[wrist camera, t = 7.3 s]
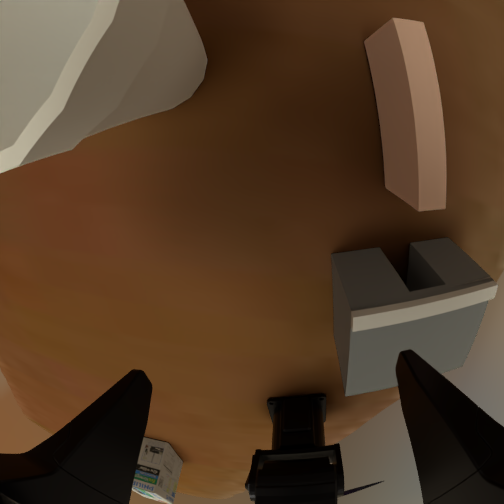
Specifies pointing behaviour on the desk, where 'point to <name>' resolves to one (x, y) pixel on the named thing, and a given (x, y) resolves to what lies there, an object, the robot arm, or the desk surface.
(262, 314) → the desk surface
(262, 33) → the desk surface
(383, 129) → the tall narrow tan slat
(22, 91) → the foam cup
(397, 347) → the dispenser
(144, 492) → the light bulb box
